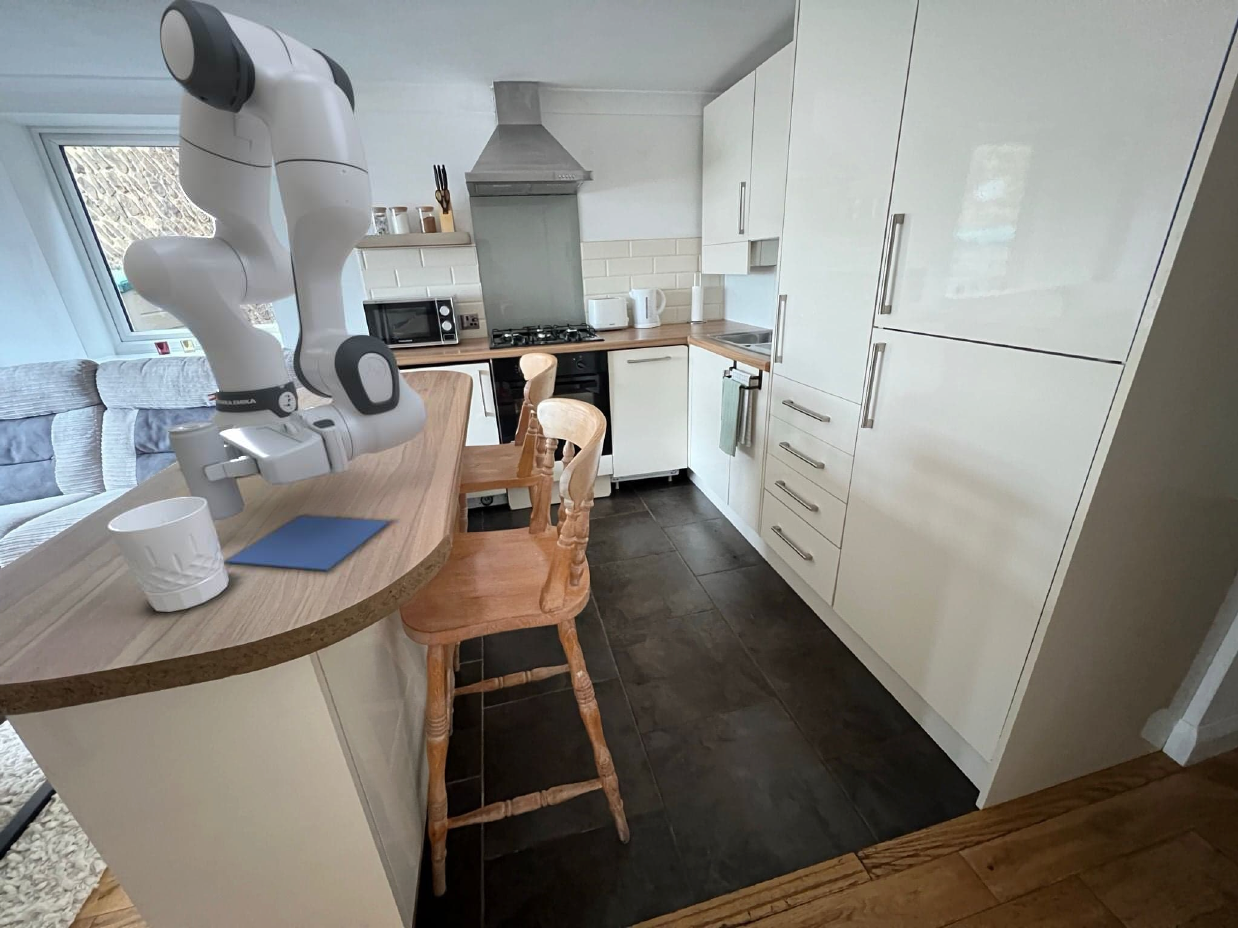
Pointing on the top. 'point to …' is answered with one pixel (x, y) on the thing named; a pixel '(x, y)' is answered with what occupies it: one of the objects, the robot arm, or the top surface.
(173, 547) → the white cup
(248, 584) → the top surface
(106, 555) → the top surface
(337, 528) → the blue cloth
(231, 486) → the beverage can
